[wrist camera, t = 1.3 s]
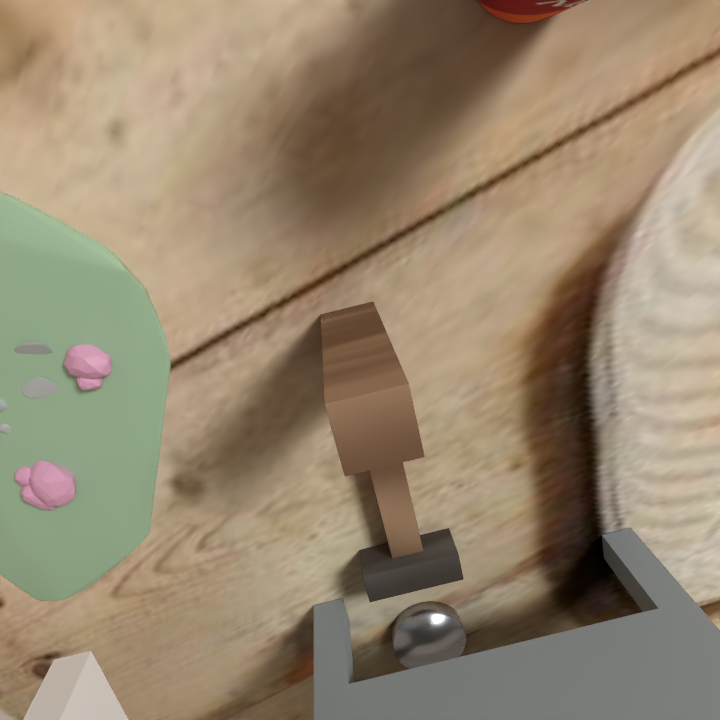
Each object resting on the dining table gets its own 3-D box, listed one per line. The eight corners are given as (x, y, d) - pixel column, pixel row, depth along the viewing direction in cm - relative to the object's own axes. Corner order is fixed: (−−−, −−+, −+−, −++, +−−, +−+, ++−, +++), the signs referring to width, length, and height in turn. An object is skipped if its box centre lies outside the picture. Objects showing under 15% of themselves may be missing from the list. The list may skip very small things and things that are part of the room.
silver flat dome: (454, 591, 38) (459, 607, 37) (465, 644, 40) (471, 662, 38) (384, 608, 38) (387, 625, 37) (398, 660, 40) (401, 679, 38)
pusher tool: (294, 321, 30) (282, 414, 19) (399, 295, 30) (450, 372, 19) (366, 573, 37) (389, 756, 25) (453, 552, 37) (516, 725, 25)
